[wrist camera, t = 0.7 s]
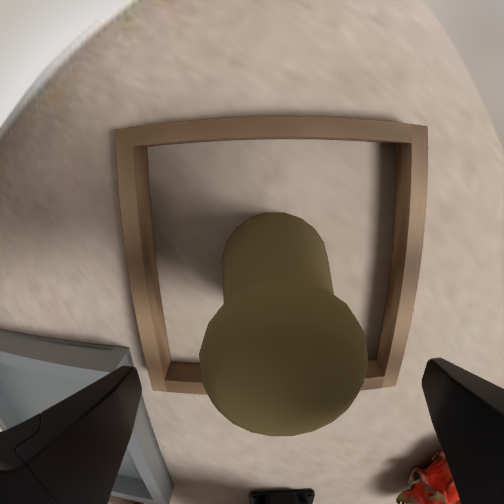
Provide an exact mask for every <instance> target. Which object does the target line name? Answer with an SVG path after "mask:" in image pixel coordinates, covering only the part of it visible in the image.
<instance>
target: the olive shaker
mask: <svg viewBox="0 0 504 504" xmlns="http://www.w3.org/2000/svg"><path fill="white" fill-rule="evenodd" d="M223 292H224V304H223V305H222V307H221V308H220V309H219V310H218V312H217V313H216V314H215V316H214V317H213V318H212V320H211V321H210V322H209V324H208V327H207V329H206V332H205V336H204V339H203V342H202V346H201V349H200V353H199V358H200V367H201V375H202V384H203V387H204V389H205V390H206V392H207V394H208V396H209V398H210V399H211V401H212V403H213V404H214V406H215V407H216V408H217V410H218V411H219V412H220V413H221V414H223V415H224V416H225V417H226V418H227V419H228V420H229V421H231V422H232V423H233V424H235V425H237V426H239V427H241V428H243V429H246V430H248V431H250V432H253V433H258V434H263V435H268V436H295V435H299V434H303V433H308V432H312V431H315V430H317V429H319V428H321V427H323V426H325V425H327V424H329V423H331V422H333V421H334V420H336V419H337V418H338V417H339V416H340V415H342V414H343V413H344V412H345V411H346V410H347V409H348V408H349V407H350V405H351V404H352V402H353V401H354V399H355V398H356V396H357V395H358V393H359V391H360V389H361V387H362V385H363V383H364V379H365V375H366V371H367V366H368V352H367V347H366V341H365V336H364V331H363V329H362V328H361V326H360V324H359V322H358V321H357V319H356V318H355V316H354V315H353V313H352V312H351V310H350V309H349V307H348V306H347V304H346V303H344V302H343V301H342V300H340V299H339V298H337V297H336V296H335V295H334V293H333V286H332V280H331V274H330V268H329V262H328V257H327V253H326V249H325V246H324V242H323V240H322V239H321V237H320V236H319V234H318V233H317V231H316V230H315V229H314V228H313V227H312V226H311V225H309V224H308V223H307V222H305V221H304V220H303V219H301V218H299V217H296V216H293V215H290V214H287V213H265V214H262V215H259V216H256V217H253V218H250V219H249V220H247V221H246V222H245V223H243V224H242V225H240V226H239V227H238V228H237V229H236V230H235V232H234V233H233V234H232V236H231V237H230V239H229V240H228V241H227V244H226V248H225V251H224V254H223Z"/></svg>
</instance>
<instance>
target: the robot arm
mask: <svg viewBox="0 0 504 504" xmlns="http://www.w3.org/2000/svg"><path fill="white" fill-rule="evenodd" d="M422 388H423V392H424V395H425V399H426V402H427V406H428V409H429V413H430V417H431V420H432V423H433V426H434V429H435V431H436V434H437V437H438V439H439V442H440V444H441V447H442V450H443V453H444V455H445V458H446V461H447V464H448V466H449V469H450V472H451V475H452V478H453V481H454V484H455V487H456V490H457V493H458V496H459V499H460V503H461V504H504V389H503V388H501V387H499V386H497V385H495V384H493V383H491V382H489V381H487V380H485V379H483V378H481V377H479V376H477V375H474V374H472V373H470V372H468V371H466V370H464V369H462V368H460V367H458V366H456V365H454V364H452V363H450V362H448V361H446V360H444V359H442V358H433V359H430V360H428V362H427V365H426V368H425V371H424V375H423V378H422ZM141 394H142V387H141V383H140V379H139V376H138V372H137V369H136V368H135V367H134V366H126V365H123V366H121V367H119V368H117V369H116V370H114V371H112V372H111V373H109V374H107V375H105V376H104V377H102V378H100V379H99V380H97V381H95V382H93V383H92V384H90V385H88V386H86V387H85V388H83V389H81V390H80V391H78V392H76V393H74V394H72V395H71V396H69V397H67V398H65V399H64V400H62V401H60V402H58V403H57V404H55V405H53V406H51V407H49V408H48V409H46V410H44V411H42V413H39V414H37V415H35V416H33V417H31V418H29V419H28V420H26V421H24V422H22V423H20V424H18V425H15V426H13V427H11V428H9V429H7V430H4V431H2V432H0V504H108V501H109V498H110V495H111V492H112V489H113V486H114V483H115V480H116V477H117V475H118V472H119V469H120V466H121V463H122V460H123V457H124V455H125V452H126V449H127V446H128V444H129V441H130V438H131V435H132V432H133V428H134V424H135V419H136V415H137V411H138V407H139V402H140V398H141ZM314 496H315V493H314V491H313V490H303V491H282V492H250V493H249V501H250V504H312V503H313V500H314Z"/></svg>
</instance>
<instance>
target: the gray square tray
mask: <svg viewBox="0 0 504 504" xmlns="http://www.w3.org/2000/svg"><path fill="white" fill-rule="evenodd" d="M123 365H126V366H134V365H133V361H132V357H131V353H130V349H129V348H126V347H115V346H105V345H96V344H88V343H80V342H72V341H65V340H58V339H51V338H44V337H38V336H32V335H26V334H21V333H15V332H10V331H5V330H0V426H1V428H2V429H3V431H4V430H7V429H9V428H11V427H13V426H15V425H18V424H20V423H22V422H24V421H26V420H28V419H29V418H31V417H33V416H35V415H37V414H39V413H42V411H44V410H46V409H48V408H49V407H51V406H53V405H55V404H57V403H58V402H60V401H62V400H64V399H65V398H67V397H69V396H71V395H72V394H74V393H76V392H78V391H80V390H81V389H83V388H85V387H86V386H88V385H90V384H92V383H93V382H95V381H97V380H99V379H100V378H102V377H104V376H105V375H107V374H109V373H111V372H112V371H114V370H116V369H117V368H119V367H121V366H123ZM173 486H174V485H173V482H172V480H171V477H170V475H169V472H168V470H167V467H166V465H165V462H164V459H163V457H162V454H161V451H160V449H159V446H158V443H157V440H156V437H155V434H154V431H153V428H152V425H151V422H150V419H149V416H148V413H147V410H146V407H145V403H144V400H143V397H142V394H141V398H140V402H139V407H138V411H137V415H136V419H135V424H134V428H133V432H132V435H131V438H130V441H129V444H128V446H127V449H126V452H125V455H124V457H123V460H122V463H121V466H120V469H119V472H118V475H117V477H116V480H115V483H114V486H113V489H112V492H111V495H112V496H115V497H119V498H124V499H128V500H132V501H137V502H142V503H147V504H169V502H170V498H171V494H172V490H173Z"/></svg>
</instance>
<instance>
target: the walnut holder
mask: <svg viewBox="0 0 504 504" xmlns="http://www.w3.org/2000/svg"><path fill="white" fill-rule="evenodd" d="M115 131H116V157H117V174H118V188H119V200H120V211H121V220H122V229H123V238H124V246H125V253H126V260H127V267H128V274H129V280H130V286H131V292H132V298H133V304H134V309H135V314H136V319H137V324H138V329H139V334H140V339H141V344H142V348H143V352H144V357H145V361H146V365H147V369H148V374H149V378H150V381H151V385H152V389H153V390H154V391H164V392H176V393H190V394H207V392H206V390H205V389H204V387H203V384H202V375H201V367H200V364H188V363H172V361H171V356H170V350H169V345H168V339H167V333H166V327H165V321H164V315H163V308H162V302H161V295H160V287H159V280H158V272H157V264H156V256H155V247H154V237H153V227H152V217H151V205H150V192H149V177H148V158H147V147H151V146H160V145H170V144H182V143H195V142H209V141H228V140H255V139H322V140H349V141H367V142H381V143H394V144H397V183H396V208H395V224H394V237H393V249H392V259H391V268H390V277H389V285H388V293H387V300H386V307H385V313H384V320H383V326H382V332H381V337H380V343H379V348H378V353H377V358H376V359H372V360H368V366H367V371H366V375H365V379H364V383H363V385H362V387H361V389H360V390H368V389H377V388H385V387H392V386H396V382H397V379H398V375H399V371H400V367H401V363H402V359H403V355H404V351H405V347H406V342H407V338H408V333H409V328H410V324H411V319H412V313H413V308H414V303H415V297H416V291H417V285H418V278H419V271H420V264H421V256H422V247H423V238H424V227H425V215H426V200H427V178H428V126H422V125H415V124H407V123H398V122H389V121H378V120H366V119H352V118H334V117H303V116H267V117H235V118H217V119H202V120H190V121H179V122H170V123H161V124H153V125H145V126H137V127H130V128H124V129H117V130H115ZM207 395H208V394H207Z"/></svg>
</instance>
